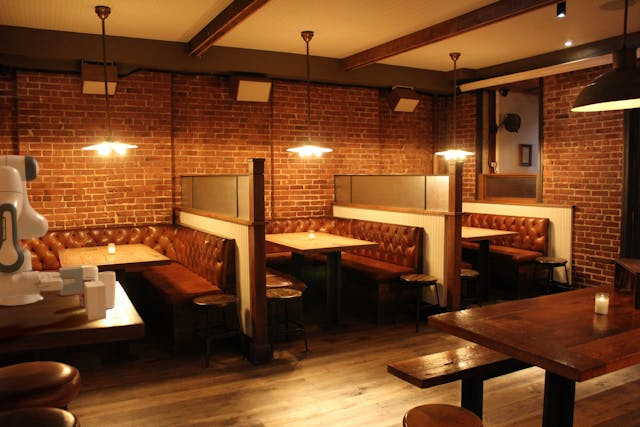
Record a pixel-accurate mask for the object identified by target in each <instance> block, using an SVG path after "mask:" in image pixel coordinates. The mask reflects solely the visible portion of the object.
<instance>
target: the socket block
mask: <svg viewBox="0 0 640 427" xmlns="http://www.w3.org/2000/svg"><path fill="white" fill-rule="evenodd" d="M84 290H85V307H84V310H85V311H84V312H85V315H86V316H87V319H88V321H92V320H100V319H101V320H102V319H107V309H106V298H105V285H104V284H103V282H102V281H92V282H84Z"/></svg>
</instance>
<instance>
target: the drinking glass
mask: <svg viewBox="0 0 640 427" xmlns="http://www.w3.org/2000/svg"><path fill="white" fill-rule="evenodd" d="M116 277H117V276H116V272H115V271H102V272H98V281H102V282H103V284H104V285H105V298H106V310H109V309H113V308H115V306H116V302H115V300H116V286H117V285H116V283H117V281H116V280H117V279H116Z"/></svg>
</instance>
